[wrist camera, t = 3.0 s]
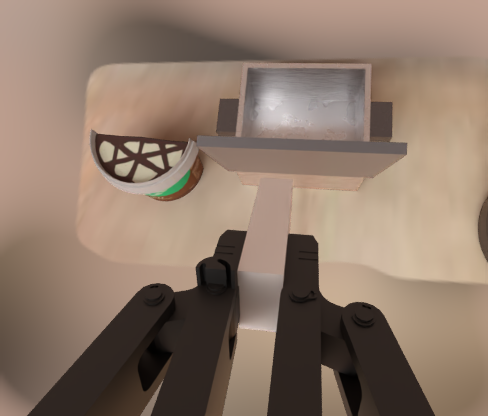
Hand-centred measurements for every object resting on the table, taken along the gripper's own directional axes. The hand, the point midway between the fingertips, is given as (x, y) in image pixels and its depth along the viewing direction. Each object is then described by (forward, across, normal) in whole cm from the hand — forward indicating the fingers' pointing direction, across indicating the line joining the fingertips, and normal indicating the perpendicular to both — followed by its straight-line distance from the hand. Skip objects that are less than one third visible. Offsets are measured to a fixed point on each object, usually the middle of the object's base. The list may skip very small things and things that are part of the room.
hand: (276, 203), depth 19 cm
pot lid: (+15, +1, -4) cm, 16 cm away
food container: (+26, -16, -15) cm, 34 cm away
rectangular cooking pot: (+31, +1, -10) cm, 32 cm away
